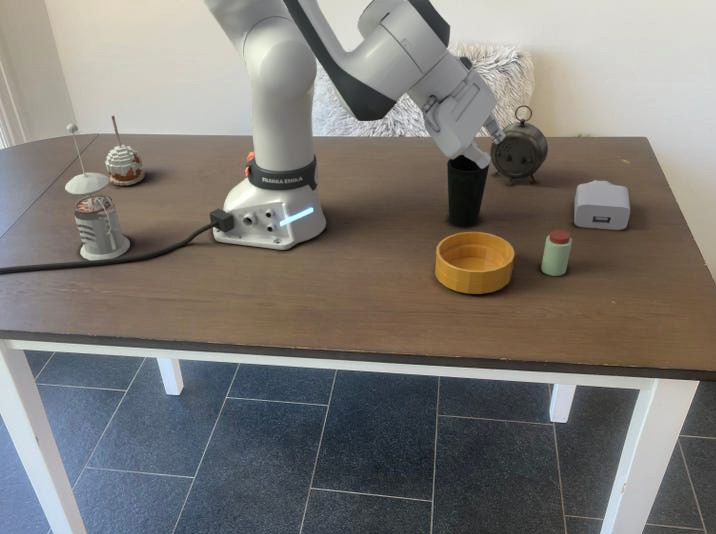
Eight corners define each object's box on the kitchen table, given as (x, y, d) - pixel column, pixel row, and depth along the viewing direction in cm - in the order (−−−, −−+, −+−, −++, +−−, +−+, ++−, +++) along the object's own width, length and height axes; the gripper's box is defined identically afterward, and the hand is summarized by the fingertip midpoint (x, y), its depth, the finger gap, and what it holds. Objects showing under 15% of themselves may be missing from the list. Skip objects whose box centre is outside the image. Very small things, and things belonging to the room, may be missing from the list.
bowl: (435, 295, 121) (436, 271, 118) (434, 255, 131) (436, 231, 128) (513, 297, 119) (517, 272, 116) (507, 256, 129) (511, 232, 126)
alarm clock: (543, 180, 151) (556, 104, 140) (535, 191, 147) (547, 114, 137) (493, 171, 155) (502, 96, 145) (484, 181, 152) (492, 106, 142)
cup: (487, 214, 141) (493, 156, 134) (477, 232, 136) (483, 174, 128) (449, 208, 144) (453, 152, 136) (438, 226, 139) (442, 168, 131)
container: (542, 275, 124) (548, 240, 119) (539, 262, 127) (545, 228, 122) (567, 276, 123) (574, 241, 119) (564, 263, 126) (571, 228, 122)
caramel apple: (148, 182, 162) (134, 117, 152) (114, 190, 160) (97, 125, 150) (140, 169, 168) (126, 106, 158) (108, 177, 166) (91, 113, 156)
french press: (112, 229, 146) (80, 109, 130) (145, 248, 140) (115, 124, 124) (70, 249, 141) (31, 126, 125) (102, 269, 135) (65, 142, 119)
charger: (621, 193, 144) (625, 230, 133) (573, 190, 147) (573, 226, 136) (627, 171, 141) (631, 207, 130) (577, 168, 144) (578, 204, 133)
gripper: (433, 97, 104) (493, 168, 107) (471, 52, 118) (523, 116, 120) (403, 123, 108) (462, 191, 111) (443, 77, 122) (494, 139, 125)
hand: (494, 152), depth 116 cm, fingers open, 8 cm apart
